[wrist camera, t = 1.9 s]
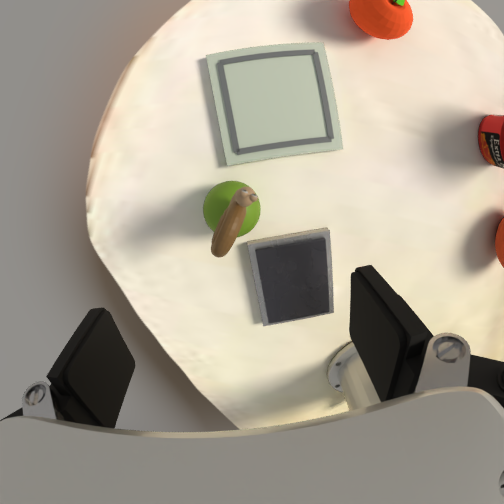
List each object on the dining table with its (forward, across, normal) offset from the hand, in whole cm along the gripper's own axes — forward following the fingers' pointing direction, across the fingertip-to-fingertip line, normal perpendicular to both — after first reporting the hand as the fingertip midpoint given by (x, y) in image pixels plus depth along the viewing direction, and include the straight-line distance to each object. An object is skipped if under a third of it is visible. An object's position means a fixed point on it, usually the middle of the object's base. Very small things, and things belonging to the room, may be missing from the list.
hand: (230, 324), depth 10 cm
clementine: (+21, -19, -20) cm, 34 cm away
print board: (+21, -6, -10) cm, 24 cm away
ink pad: (+20, -5, +10) cm, 23 cm away
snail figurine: (+21, 0, 0) cm, 21 cm away
